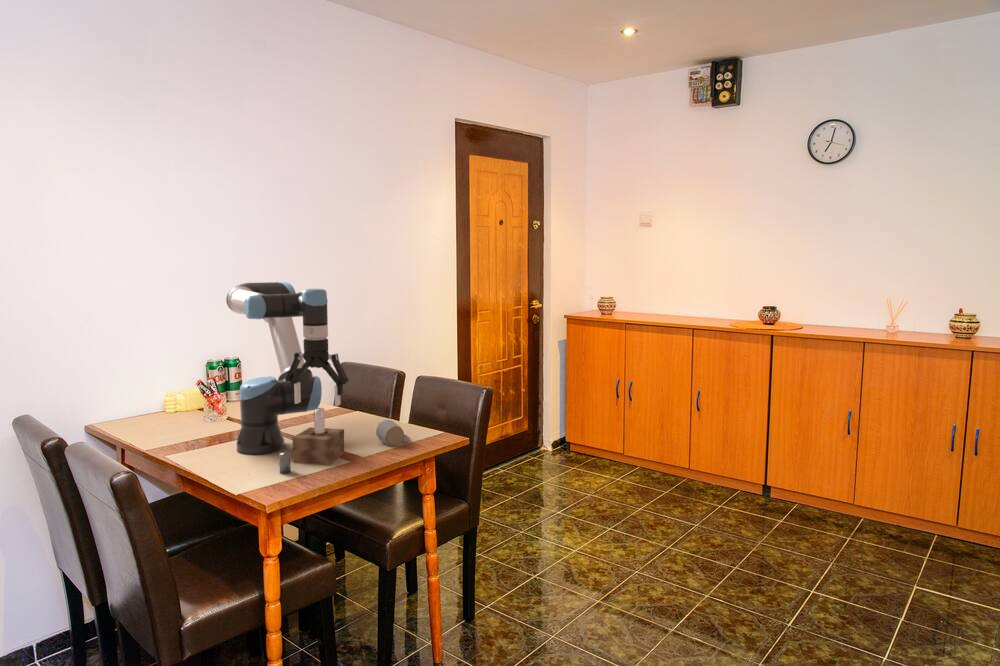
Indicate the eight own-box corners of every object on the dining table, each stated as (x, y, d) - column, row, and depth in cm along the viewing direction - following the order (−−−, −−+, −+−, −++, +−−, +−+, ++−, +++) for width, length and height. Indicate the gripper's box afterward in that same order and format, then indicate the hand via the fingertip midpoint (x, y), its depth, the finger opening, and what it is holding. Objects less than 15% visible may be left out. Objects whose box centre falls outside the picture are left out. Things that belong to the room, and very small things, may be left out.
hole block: (293, 462, 211) (292, 437, 210) (310, 450, 222) (309, 427, 221) (329, 464, 209) (328, 439, 208) (344, 452, 220) (344, 429, 219)
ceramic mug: (386, 448, 225) (386, 426, 224) (375, 442, 232) (375, 420, 231) (414, 443, 231) (414, 422, 230) (403, 438, 238) (403, 417, 237)
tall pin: (313, 458, 214) (312, 410, 212) (317, 455, 217) (316, 407, 215) (322, 459, 214) (321, 410, 211) (327, 456, 217) (326, 408, 214)
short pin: (277, 473, 200) (277, 454, 199) (283, 470, 203) (282, 451, 203) (287, 474, 200) (287, 455, 199) (292, 470, 203) (292, 451, 202)
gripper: (273, 338, 209) (275, 404, 212) (348, 341, 205) (349, 409, 208) (284, 335, 216) (287, 399, 219) (357, 337, 212) (359, 403, 215)
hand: (317, 404), depth 213 cm, fingers open, 13 cm apart
